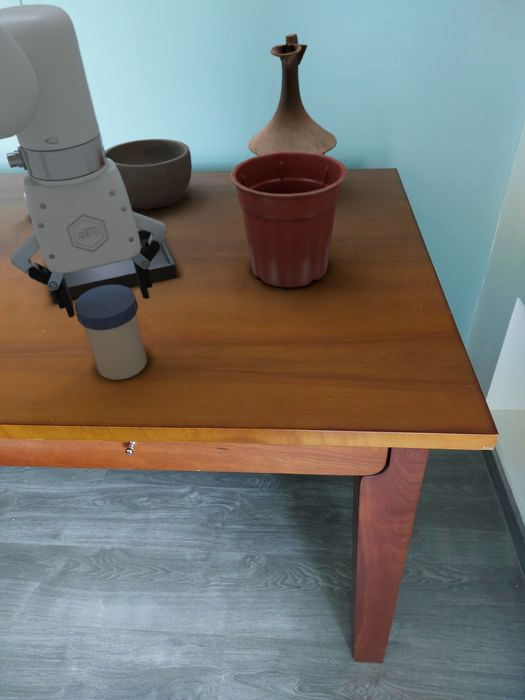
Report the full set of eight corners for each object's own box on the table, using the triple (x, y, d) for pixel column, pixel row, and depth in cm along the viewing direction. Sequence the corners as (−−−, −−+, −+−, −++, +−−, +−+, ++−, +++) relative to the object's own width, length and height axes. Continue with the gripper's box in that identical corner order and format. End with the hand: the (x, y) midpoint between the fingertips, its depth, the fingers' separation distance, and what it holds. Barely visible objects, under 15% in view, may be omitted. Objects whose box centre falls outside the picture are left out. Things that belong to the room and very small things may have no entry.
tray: (54, 304, 80) (49, 291, 78) (49, 260, 90) (45, 248, 89) (177, 276, 85) (175, 264, 83) (159, 238, 95) (157, 226, 93)
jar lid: (81, 336, 60) (77, 324, 59) (75, 303, 65) (71, 292, 64) (142, 321, 62) (140, 309, 61) (132, 290, 67) (129, 279, 66)
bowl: (174, 176, 117) (167, 129, 111) (211, 203, 105) (205, 153, 99) (99, 195, 110) (87, 147, 104) (129, 227, 99) (118, 175, 92)
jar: (100, 385, 66) (81, 324, 60) (94, 354, 70) (75, 295, 64) (151, 372, 67) (137, 311, 61) (142, 342, 72) (128, 284, 66)
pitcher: (255, 175, 115) (248, 28, 97) (333, 175, 114) (341, 25, 96) (246, 211, 102) (236, 47, 84) (334, 211, 100) (343, 44, 82)
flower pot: (219, 265, 87) (208, 169, 77) (296, 234, 94) (296, 142, 84) (280, 310, 77) (277, 206, 66) (361, 271, 84) (371, 172, 73)
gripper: (-31, 187, 47) (34, 338, 58) (161, 153, 51) (186, 301, 62) (-27, 159, 52) (32, 302, 64) (146, 130, 56) (172, 270, 68)
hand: (108, 301), depth 63 cm, fingers open, 8 cm apart
